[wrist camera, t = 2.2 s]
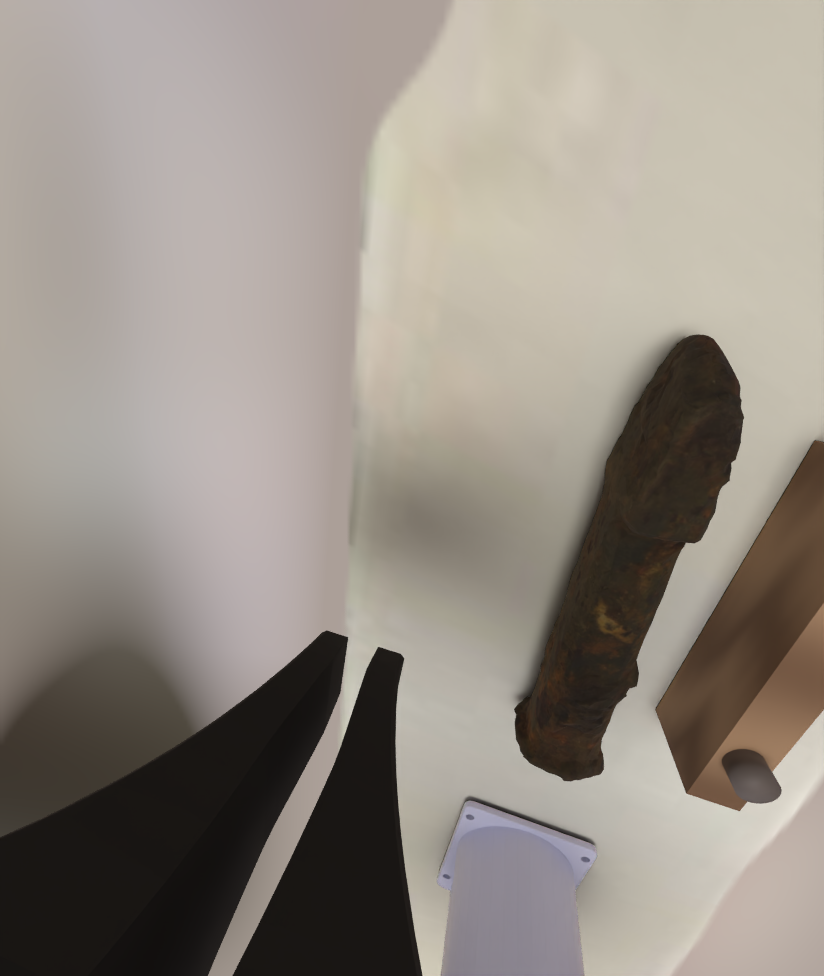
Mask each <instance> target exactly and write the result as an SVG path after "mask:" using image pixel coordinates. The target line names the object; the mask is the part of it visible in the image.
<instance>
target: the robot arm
mask: <svg viewBox="0 0 824 976" xmlns="http://www.w3.org/2000/svg"><path fill="white" fill-rule="evenodd" d="M347 642H348V637H345V636H342V635H339V634H336V633H333V632H330V631H325V632H322V633H321V634H320V635H319V636H318V637H317V638H316V639H315V640H314V641H313V642H312V643H311V644H310V645H309V646H308V647H307V648H305V649H304V650H303V651H302V652H301V653H300V654H299V655H298V656H297V657H295V658H294V659H293V660H292V661H291V662H290V663H289V664H287V665H286V666H285V667H284V668H283V669H282V670H280V671H279V672H278V673H277V674H275V675H274V676H273V677H272V678H271V679H269V680H268V681H267V682H266V683H265V684H263V685H262V686H261V687H260V688H258V689H257V690H256V691H254V692H253V693H252V694H250V695H249V696H248V697H247V698H245V699H244V700H242V701H241V702H240V703H238V704H237V705H236V706H235V707H233V708H232V709H230V710H229V711H228V712H226V713H225V714H223V715H222V716H221V717H219V718H218V719H216V720H215V721H213V722H212V723H211V724H209V725H208V726H206V727H205V728H203V729H202V730H200V731H199V732H197V733H196V734H194V735H192V736H191V737H189V738H188V739H186V740H185V741H183V742H182V743H180V744H178V745H177V746H175V747H174V748H172V749H170V750H169V751H167V752H165V753H164V754H162V755H160V756H159V757H157V758H155V759H154V760H152V761H150V762H148V763H147V764H145V765H143V766H142V767H140V768H138V769H136V770H135V771H133V772H131V773H129V774H128V775H126V776H124V777H122V778H120V779H119V780H117V781H115V782H113V783H111V784H109V785H107V786H105V787H103V788H101V789H99V790H97V791H95V792H94V793H92V794H90V795H88V796H86V797H84V798H82V799H80V800H78V801H76V802H74V803H72V804H70V805H68V806H66V807H65V808H62V809H60V810H59V811H56V812H54V813H52V814H50V815H48V816H46V817H44V818H42V819H40V820H37V821H35V822H33V823H31V824H29V825H26V826H24V827H22V828H20V829H18V830H15V831H13V832H11V833H9V834H7V835H4V836H2V837H0V976H208V974H209V971H210V969H211V967H212V964H213V962H214V959H215V957H216V955H217V952H218V950H219V948H220V945H221V943H222V941H223V938H224V936H225V934H226V931H227V929H228V927H229V924H230V922H231V920H232V918H233V915H234V913H235V910H236V908H237V906H238V904H239V901H240V899H241V897H242V895H243V892H244V890H245V888H246V885H247V883H248V881H249V879H250V876H251V874H252V872H253V869H254V867H255V865H256V863H257V861H258V858H259V856H260V854H261V852H262V849H263V847H264V845H265V843H266V841H267V839H268V837H269V835H270V833H271V831H272V829H273V827H274V825H275V823H276V821H277V819H278V817H279V815H280V814H281V812H282V810H283V808H284V806H285V804H286V802H287V801H288V799H289V797H290V795H291V793H292V791H293V789H294V787H295V786H296V784H297V782H298V780H299V778H300V776H301V774H302V772H303V771H304V769H305V767H306V765H307V763H308V761H309V759H310V757H311V756H312V754H313V752H314V750H315V748H316V746H317V744H318V742H319V740H320V739H321V737H322V735H323V733H324V730H325V728H326V726H327V724H328V721H329V719H330V716H331V714H332V712H333V709H334V706H335V704H336V702H337V699H338V697H339V694H340V691H341V684H342V677H343V670H344V663H345V656H346V649H347ZM403 662H404V658H403V656H402V655H401V654H399V653H396V652H393V651H389V650H386V649H383V648H380V647H378V648H377V650H376V652H375V654H374V656H373V658H372V660H371V662H370V664H369V666H368V668H367V670H366V673H365V676H364V679H363V682H362V685H361V688H360V691H359V694H358V697H357V700H356V703H355V706H354V709H353V712H352V715H351V718H350V721H349V724H348V727H347V730H346V733H345V736H344V739H343V742H342V745H341V748H340V750H339V753H338V756H337V758H336V761H335V763H334V766H333V768H332V770H331V773H330V775H329V777H328V779H327V781H326V784H325V786H324V788H323V790H322V792H321V795H320V797H319V799H318V801H317V803H316V806H315V808H314V810H313V812H312V815H311V816H310V819H309V821H308V823H307V825H306V827H305V829H304V831H303V833H302V836H301V838H300V840H299V842H298V844H297V846H296V848H295V851H294V853H293V855H292V857H291V859H290V861H289V863H288V865H287V867H286V869H285V871H284V873H283V875H282V877H281V880H280V882H279V884H278V886H277V888H276V890H275V892H274V894H273V896H272V898H271V900H270V902H269V904H268V906H267V908H266V910H265V912H264V914H263V916H262V919H261V921H260V923H259V925H258V927H257V929H256V931H255V933H254V934H253V936H252V939H251V940H250V942H249V944H248V947H247V948H246V950H245V952H244V954H243V956H242V958H241V960H240V962H239V964H238V966H237V968H236V970H235V972H234V974H233V976H422V971H421V965H420V960H419V954H418V948H417V943H416V937H415V932H414V925H413V918H412V912H411V905H410V898H409V892H408V885H407V878H406V872H405V864H404V856H403V847H402V839H401V829H400V819H399V808H398V795H397V778H396V747H395V736H396V703H397V692H398V684H399V680H400V675H401V671H402V666H403ZM596 858H597V850H596V847H595V846H594V845H593V844H591V843H588V842H585V841H583V840H580V839H577V838H574V837H571V836H569V835H566V834H563V833H560V832H558V831H555V830H552V829H549V828H547V827H544V826H541V825H538V824H535V823H533V822H530V821H527V820H524V819H522V818H519V817H516V816H513V815H511V814H508V813H505V812H502V811H500V810H497V809H494V808H491V807H488V806H486V805H483V804H480V803H477V802H475V801H467V802H465V804H464V806H463V809H462V812H461V814H460V817H459V820H458V822H457V825H456V828H455V831H454V833H453V836H452V839H451V841H450V844H449V847H448V849H447V852H446V855H445V857H444V860H443V863H442V866H441V868H440V871H439V874H438V878H437V883H438V885H439V886H441V887H443V888H445V889H448V890H450V899H449V908H448V917H447V925H446V934H445V943H444V952H443V960H442V969H441V976H584V967H583V957H582V948H581V939H580V929H579V920H578V911H577V901H576V892H575V890H576V889H577V887H578V886H579V884H580V883H581V881H582V880H583V878H584V876H585V875H586V873H587V872H588V870H589V869H590V867H591V866H592V864H593V862H594V861H595V859H596Z"/></svg>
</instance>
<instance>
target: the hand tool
mask: <svg viewBox="0 0 824 976" xmlns="http://www.w3.org/2000/svg"><path fill="white" fill-rule="evenodd" d="M743 419H744V416H743V413H742V410H741V398H740V385H739V381H738V379H737V377H736V375H735V373H734V371H733V369H732V367H731V366H730V364H729V362H728V360H727V358H726V356H725V355H724V353H723V352H722V350H721V348H720V347H719V346H718V344H717V343H716V342H715V340H714V339H713V338H711V337H709V336H705V335H692V336H689V337H687V338H685V339H683V340H682V341H681V342H680V343H678V344H677V346H676V347H675V348H674V349H673V351H672V352H671V353H670V354H669V356H668V357H667V358H666V360H665V361H664V362H663V363H662V365H661V366H660V367H659V369H658V370H657V372H656V374H655V376H654V377H653V379H652V381H651V382H650V383H649V385H648V386H647V388H646V390H645V392H644V394H643V395H642V397H641V399H640V401H639V402H638V403H637V404H636V405H635V407H634V409H633V411H632V413H631V415H630V417H629V420H628V423H627V425H626V427H625V429H624V431H623V433H622V435H621V437H620V438H619V440H618V442H617V444H616V446H615V448H614V449H613V451H612V453H611V455H610V457H609V459H608V460H607V464H606V470H605V484H604V488H603V493H602V498H601V500H600V503H599V506H598V508H597V511H596V514H595V517H594V519H593V522H592V525H591V527H590V530H589V532H588V535H587V537H586V540H585V542H584V545H583V548H582V551H581V554H580V557H579V560H578V563H577V565H576V566H575V569H574V571H573V573H572V576H571V579H570V583H569V587H568V591H567V596H566V598H565V601H564V603H563V606H562V609H561V613H560V615H559V617H558V619H557V621H556V623H555V625H554V629H553V631H552V634H551V636H550V638H549V641H548V643H547V645H546V649H545V657H544V659H543V662H542V664H541V671H540V674H539V676H538V679H537V683H536V687H535V689H534V691H533V693H532V696H531V697H526V698H525V699H524V700H523V701H522V702H520V703H519V704H518V705H517V706H516V708H515V709H514V710H515V713H516V719H515V731H516V740H517V742H518V744H519V746H520V751H521V752H522V754H523V755H524V756H523V757H524V758H526V759H527V760H528V761H529V763H531V764H532V765H534V766H536V767H538V768H541V769H543V770H544V771H546V772H548V773H551V774H555V775H557V776H559V777H561V778H562V779H563V780H564V781H573V780H581V779H584V778H589V777H592V776H596V775H599V774H601V773H602V771H603V770H604V760H603V753H602V751H601V743H602V741H601V740H602V737H603V735H604V733H605V731H606V728H607V726H608V724H609V722H610V719H611V716H612V713H613V710H614V708H615V706H616V704H618V703H619V702H620V701H621V700H622V699H623V698H624V697H626V693H627V691H628V690H629V688H632V687H635V686H637V682H638V676H639V672H638V666H637V661H636V659H637V657H638V654H639V650H640V648H641V646H642V643H643V641H644V638H645V636H646V634H647V632H648V630H649V627H650V625H651V623H652V621H653V618H654V616H655V613H656V610H657V608H658V606H659V604H660V602H661V599H662V597H663V595H664V592H665V589H666V587H667V584H668V581H669V579H670V576H671V573H672V571H673V568H674V565H675V563H676V560H677V558H678V556H679V554H680V552H681V550H682V549H683V547H684V545H685V543H696V542H698V541H700V540H701V539H702V537H703V535H704V533H705V531H706V529H707V527H708V525H709V522H710V520H711V518H712V517H713V515H714V513H715V509H716V503H717V498H718V495H719V491H720V490H721V488H722V486H723V485H725V484H726V483H727V482H728V481H729V480H730V473H731V463H732V462H733V461H734V460H736V456H737V453H738V450H739V446H740V443H741V433H742V425H743Z"/></svg>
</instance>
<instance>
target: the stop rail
mask: <svg viewBox="0 0 824 976" xmlns="http://www.w3.org/2000/svg"><path fill="white" fill-rule="evenodd" d="M823 710H824V442H820V441H814V443H813V445H812V447H811V448H810V450H809V452H808V453H807V455H806V457H805V458H804V460H803V462H802V463H801V465H800V467H799V468H798V470H797V472H796V474H795V475H794V477H793V479H792V480H791V482H790V484H789V485H788V487H787V489H786V490H785V492H784V494H783V495H782V497H781V499H780V501H779V502H778V504H777V506H776V507H775V509H774V511H773V512H772V514H771V516H770V517H769V519H768V521H767V522H766V524H765V526H764V528H763V529H762V531H761V533H760V534H759V536H758V538H757V539H756V541H755V543H754V544H753V546H752V548H751V550H750V551H749V553H748V555H747V556H746V558H745V560H744V561H743V563H742V565H741V566H740V568H739V570H738V571H737V573H736V575H735V577H734V578H733V580H732V582H731V583H730V585H729V587H728V588H727V590H726V592H725V593H724V595H723V597H722V598H721V600H720V602H719V604H718V605H717V607H716V609H715V610H714V612H713V614H712V615H711V617H710V619H709V620H708V622H707V624H706V625H705V627H704V629H703V631H702V632H701V634H700V636H699V637H698V639H697V641H696V642H695V644H694V646H693V647H692V649H691V651H690V653H689V654H688V656H687V658H686V659H685V661H684V663H683V664H682V666H681V668H680V669H679V671H678V673H677V674H676V676H675V678H674V680H673V681H672V683H671V685H670V686H669V688H668V690H667V691H666V693H665V695H664V696H663V698H662V700H661V701H660V703H659V705H658V707H657V708H656V712H657V715H658V718H659V720H660V723H661V726H662V728H663V731H664V734H665V737H666V739H667V742H668V745H669V748H670V750H671V753H672V756H673V758H674V761H675V764H676V767H677V769H678V772H679V775H680V777H681V780H682V783H683V786H684V788H685V791H686V793H687V794H690V795H693V796H696V797H699V798H702V799H705V800H708V801H711V802H714V803H717V804H720V805H723V806H726V807H729V808H732V809H735V810H738V811H740V810H741V809H742V807H743V806H744V805H745V804H746V803H747V801H748V802H751V803H768V802H772V801H774V800H776V799H777V798H778V797H779V796H780V794H781V787H780V785H779V783H778V782H777V780H776V778H775V776H774V775H773V773H772V771H773V770H774V769H775V768H776V766H777V765H778V764H779V763H780V762H781V760H782V759H783V758H784V757H785V756H786V754H787V753H788V752H789V751H790V750H791V748H792V747H793V746H794V745H795V744H796V742H797V741H798V740H799V739H800V738H801V736H802V735H803V734H804V733H805V732H806V730H807V729H808V728H809V727H810V725H811V724H812V723H813V722H814V721H815V719H816V718H817V717H818V716H819V715H820V713H821V712H822V711H823Z"/></svg>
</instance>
